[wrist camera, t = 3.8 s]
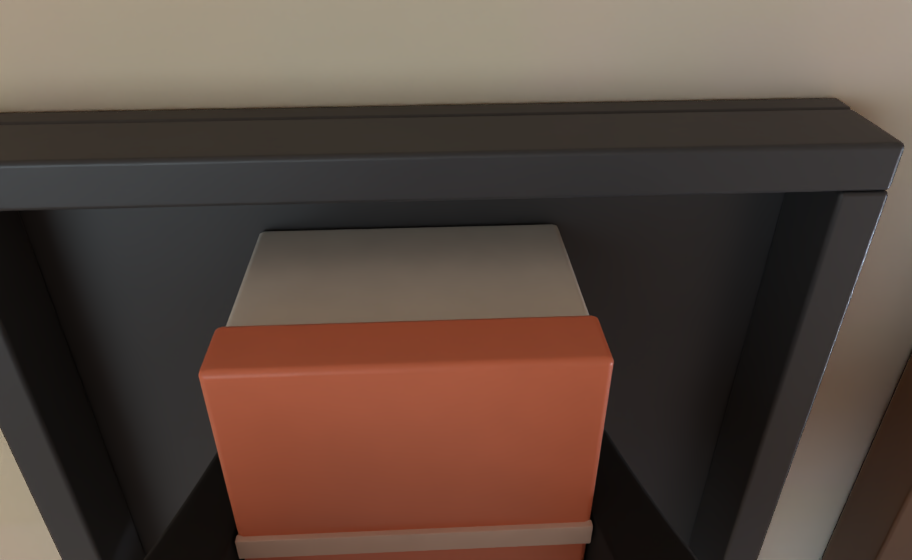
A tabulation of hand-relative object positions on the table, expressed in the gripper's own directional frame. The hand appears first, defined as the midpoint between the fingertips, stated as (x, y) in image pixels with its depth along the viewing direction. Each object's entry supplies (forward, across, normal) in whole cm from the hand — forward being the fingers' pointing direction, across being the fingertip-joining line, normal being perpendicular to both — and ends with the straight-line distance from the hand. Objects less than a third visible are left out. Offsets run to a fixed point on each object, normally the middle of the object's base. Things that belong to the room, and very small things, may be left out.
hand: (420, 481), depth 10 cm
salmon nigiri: (+1, 0, 0) cm, 1 cm away
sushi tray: (+2, 0, +5) cm, 5 cm away
